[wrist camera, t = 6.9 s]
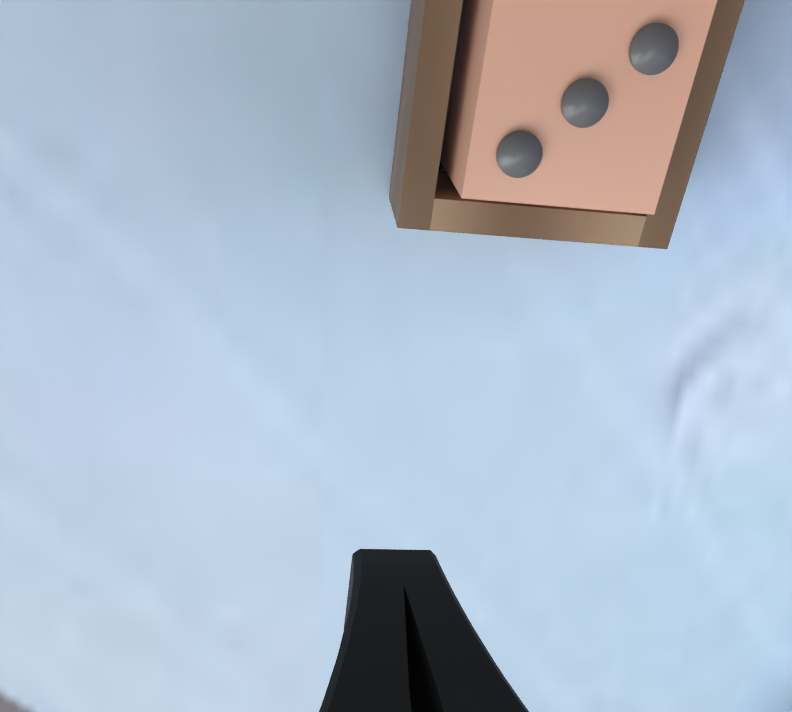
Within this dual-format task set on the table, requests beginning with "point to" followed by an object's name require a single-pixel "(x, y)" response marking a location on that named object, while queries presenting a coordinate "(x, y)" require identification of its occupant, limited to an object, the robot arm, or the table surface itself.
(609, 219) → the tile tray
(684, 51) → the tile three
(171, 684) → the table surface
